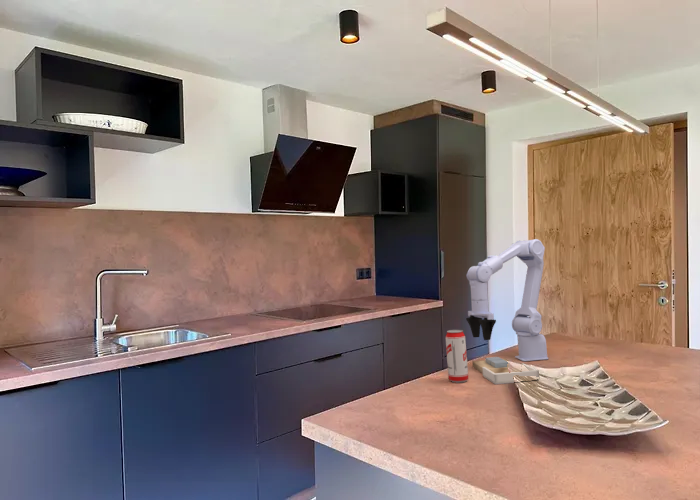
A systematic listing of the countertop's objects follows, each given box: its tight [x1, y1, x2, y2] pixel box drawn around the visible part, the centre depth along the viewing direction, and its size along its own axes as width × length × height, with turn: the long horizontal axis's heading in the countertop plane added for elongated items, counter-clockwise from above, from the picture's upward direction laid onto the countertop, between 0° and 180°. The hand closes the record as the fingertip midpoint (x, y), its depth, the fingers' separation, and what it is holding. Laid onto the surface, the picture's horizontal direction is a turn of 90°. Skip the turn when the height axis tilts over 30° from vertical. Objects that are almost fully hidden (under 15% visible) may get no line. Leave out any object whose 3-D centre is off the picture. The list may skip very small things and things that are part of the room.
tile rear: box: [484, 356, 504, 365], centre depth 169 cm, size 4×4×2 cm
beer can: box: [445, 329, 469, 384], centre depth 157 cm, size 6×6×16 cm
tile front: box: [490, 360, 508, 368], centre depth 164 cm, size 4×4×2 cm
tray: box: [482, 362, 540, 385], centre depth 155 cm, size 14×11×3 cm
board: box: [471, 358, 510, 375], centre depth 168 cm, size 12×14×2 cm
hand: (481, 338), depth 172 cm, fingers open, 7 cm apart
